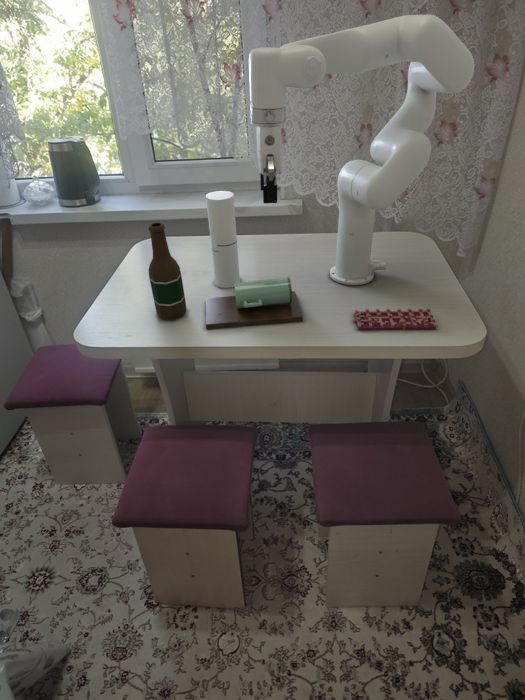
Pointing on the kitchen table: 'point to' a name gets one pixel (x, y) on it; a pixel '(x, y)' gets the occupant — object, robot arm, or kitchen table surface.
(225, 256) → the cylindrical container
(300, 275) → the kitchen table surface
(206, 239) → the kitchen table surface
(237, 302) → the jug
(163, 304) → the beer bottle
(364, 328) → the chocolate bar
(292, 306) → the serving board
